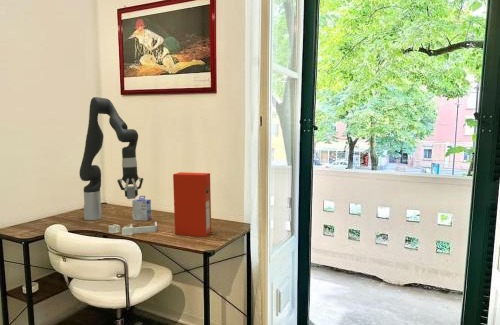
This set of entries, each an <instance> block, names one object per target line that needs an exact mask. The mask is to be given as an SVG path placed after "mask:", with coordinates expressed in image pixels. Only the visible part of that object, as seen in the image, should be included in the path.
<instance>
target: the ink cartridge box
mask: <svg viewBox="0 0 500 325" xmlns="http://www.w3.org/2000/svg"><path fill="white" fill-rule="evenodd" d="M131 202H132V204H131V205H132V221H143V222H146V221H147V222H148V221H149V220H152V206H151V203H152V199H146V195H139V197H138V198H135V199H132V201H131Z"/></svg>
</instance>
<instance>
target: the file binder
mask: <svg viewBox="0 0 500 325" xmlns="http://www.w3.org/2000/svg"><path fill="white" fill-rule="evenodd" d="M172 179H173V180H172V181H173V183H172V184H173V213H174V234H175V235H178V236H190V237H200V236H201V237H202V238H207V237H208V236H209V235H210V234H211V233H212V205H211V204H212V202H211V173H210V172H185V171H184V172H183V171H182V172H181V171H180V172H176V173H173V174H172Z"/></svg>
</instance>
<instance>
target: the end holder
mask: <svg viewBox="0 0 500 325" xmlns="http://www.w3.org/2000/svg"><path fill="white" fill-rule="evenodd" d="M129 227H133V228H132V233H133V234H132V235H134V234H143V233H154V232H158V222H157V221H154V225H148V226H137V227H134V226H133V223H130V225H129Z"/></svg>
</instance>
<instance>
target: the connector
mask: <svg viewBox="0 0 500 325" xmlns="http://www.w3.org/2000/svg"><path fill="white" fill-rule="evenodd" d="M126 199H127V200H136V197H135V187H134V185H131V186H129V185H128V187H127V198H126Z"/></svg>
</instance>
